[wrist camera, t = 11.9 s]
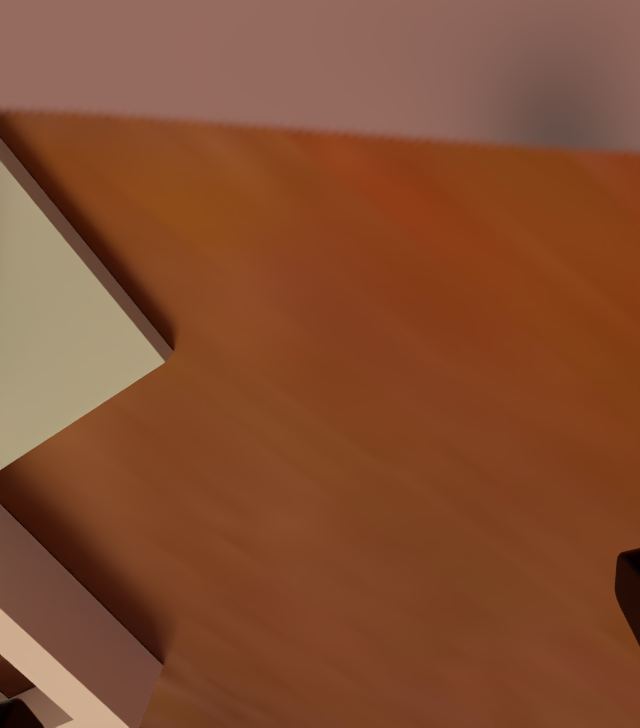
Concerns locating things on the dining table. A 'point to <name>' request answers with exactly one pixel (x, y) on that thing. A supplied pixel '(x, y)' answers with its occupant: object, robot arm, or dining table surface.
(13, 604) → the pocket block
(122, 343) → the pad
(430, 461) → the dining table surface
